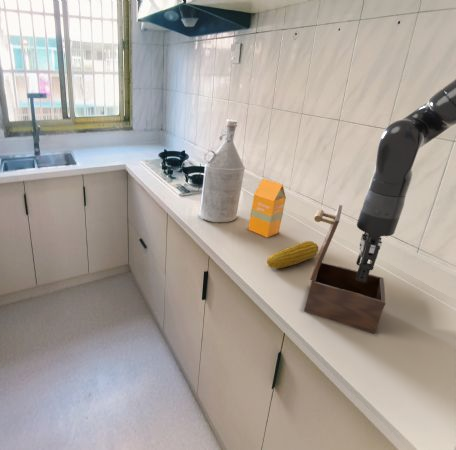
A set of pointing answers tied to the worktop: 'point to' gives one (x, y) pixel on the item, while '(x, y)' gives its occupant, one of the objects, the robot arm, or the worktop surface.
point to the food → (293, 255)
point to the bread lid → (328, 237)
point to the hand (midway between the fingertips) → (360, 272)
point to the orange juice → (267, 208)
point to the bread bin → (346, 297)
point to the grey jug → (222, 180)
